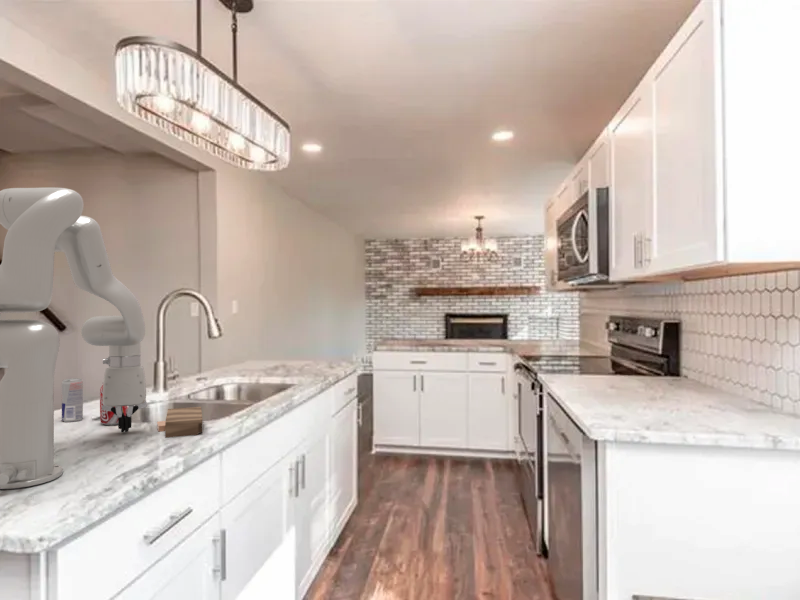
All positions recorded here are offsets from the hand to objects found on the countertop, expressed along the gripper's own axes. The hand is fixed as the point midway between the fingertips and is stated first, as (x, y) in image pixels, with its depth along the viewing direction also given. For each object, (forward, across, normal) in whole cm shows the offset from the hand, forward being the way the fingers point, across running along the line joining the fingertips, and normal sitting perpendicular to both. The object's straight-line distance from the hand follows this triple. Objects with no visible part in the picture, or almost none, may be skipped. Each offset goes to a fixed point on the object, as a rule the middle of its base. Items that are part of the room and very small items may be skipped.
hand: (125, 430), depth 144 cm
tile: (+1, +13, +2) cm, 13 cm away
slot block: (+1, +15, 0) cm, 15 cm away
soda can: (+1, -4, +14) cm, 15 cm away
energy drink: (+1, -16, +23) cm, 28 cm away
